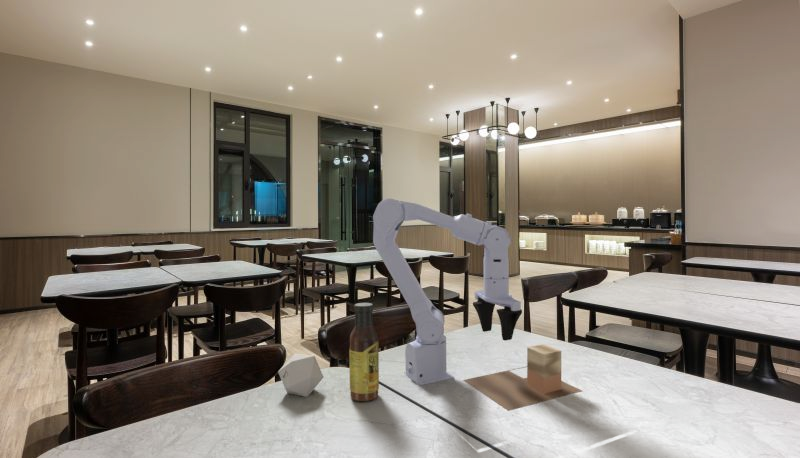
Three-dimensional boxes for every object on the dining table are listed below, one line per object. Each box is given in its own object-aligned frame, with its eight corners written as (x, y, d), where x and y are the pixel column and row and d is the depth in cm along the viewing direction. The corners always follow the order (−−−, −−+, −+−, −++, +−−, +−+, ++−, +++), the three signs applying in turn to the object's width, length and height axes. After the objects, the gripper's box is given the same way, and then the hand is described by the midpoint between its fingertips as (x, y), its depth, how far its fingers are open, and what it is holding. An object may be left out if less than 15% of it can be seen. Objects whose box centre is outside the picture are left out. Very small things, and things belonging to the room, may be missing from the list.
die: (285, 387, 92) (266, 362, 87) (318, 362, 96) (302, 337, 90) (299, 413, 86) (280, 388, 80) (334, 386, 89) (318, 360, 84)
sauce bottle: (374, 404, 82) (373, 308, 81) (345, 402, 83) (344, 307, 82) (382, 390, 88) (381, 301, 88) (355, 388, 90) (353, 300, 89)
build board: (508, 412, 78) (508, 409, 78) (462, 381, 92) (462, 379, 92) (582, 392, 86) (582, 390, 86) (529, 367, 101) (529, 365, 101)
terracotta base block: (543, 393, 85) (543, 377, 85) (527, 384, 89) (527, 369, 89) (561, 389, 87) (561, 373, 87) (544, 380, 91) (544, 365, 91)
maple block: (543, 377, 85) (543, 354, 85) (527, 369, 89) (527, 347, 89) (561, 373, 87) (561, 350, 87) (544, 365, 91) (544, 344, 91)
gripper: (531, 280, 88) (531, 341, 89) (490, 272, 101) (491, 325, 102) (505, 283, 85) (506, 345, 86) (467, 274, 98) (468, 328, 99)
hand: (496, 335), depth 94 cm, fingers open, 7 cm apart
